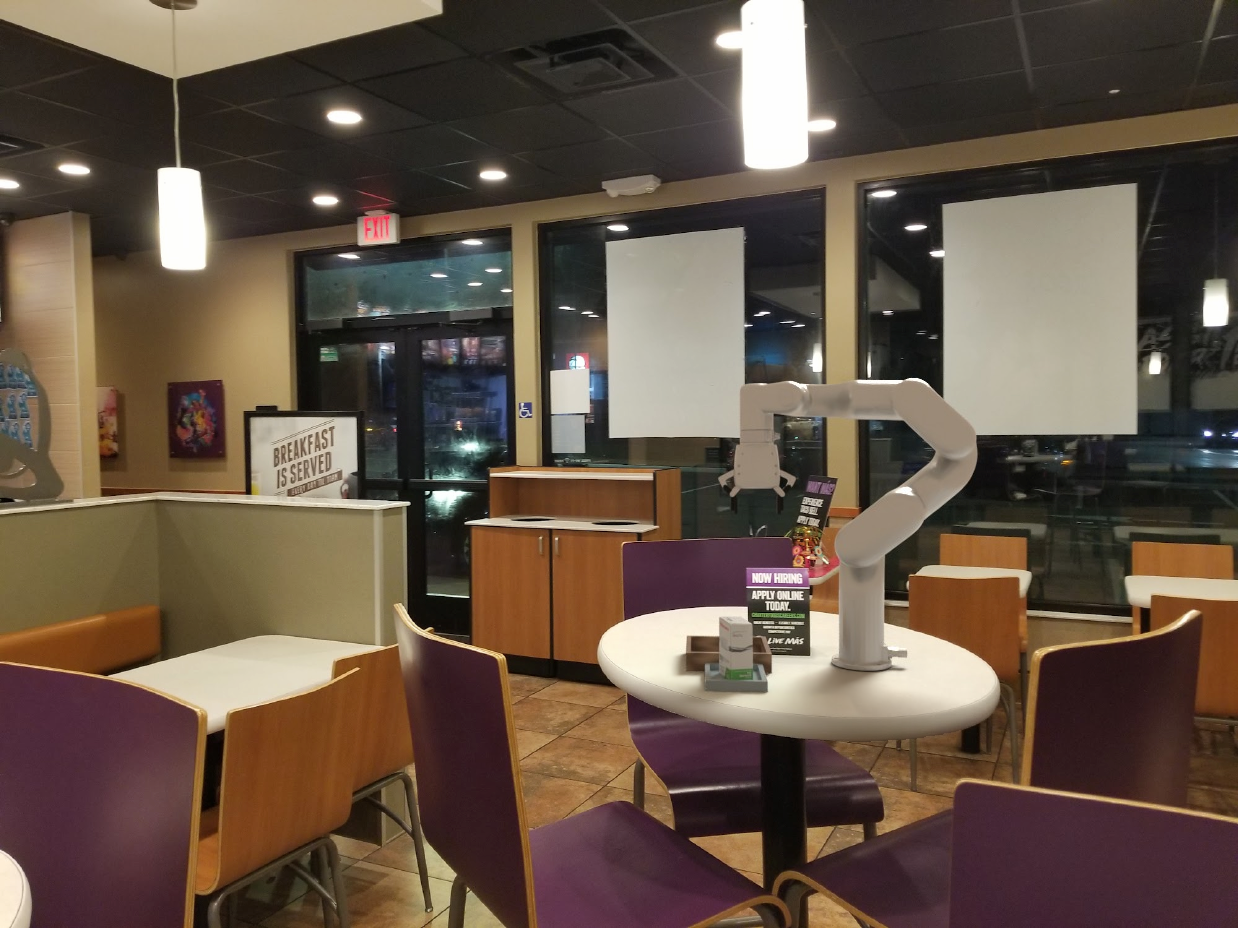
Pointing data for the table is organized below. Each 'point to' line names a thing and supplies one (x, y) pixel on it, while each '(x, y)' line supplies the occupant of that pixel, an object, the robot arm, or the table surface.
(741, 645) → the ink box
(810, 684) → the table surface
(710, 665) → the tray
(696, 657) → the crate
